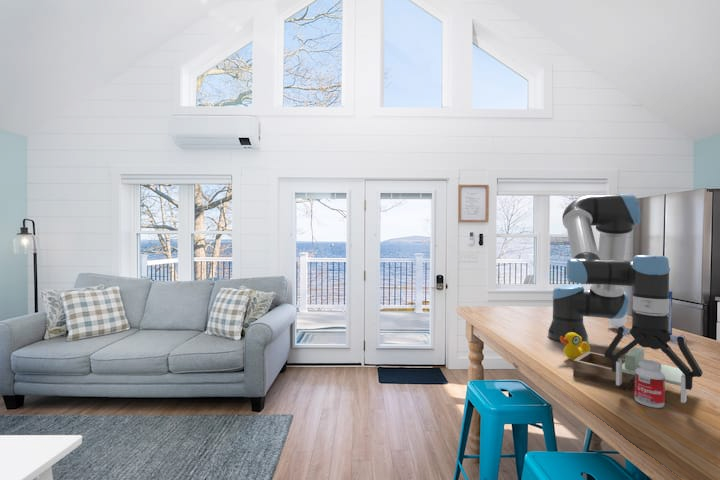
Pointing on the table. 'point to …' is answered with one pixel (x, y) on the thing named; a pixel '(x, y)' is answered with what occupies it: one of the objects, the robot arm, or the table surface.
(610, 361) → the box
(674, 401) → the table surface
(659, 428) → the table surface
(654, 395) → the pill bottle
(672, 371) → the lid
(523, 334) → the table surface
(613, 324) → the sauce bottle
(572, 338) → the duckling
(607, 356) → the robot arm
